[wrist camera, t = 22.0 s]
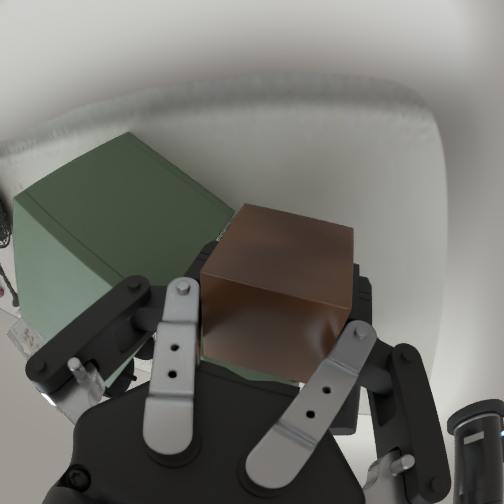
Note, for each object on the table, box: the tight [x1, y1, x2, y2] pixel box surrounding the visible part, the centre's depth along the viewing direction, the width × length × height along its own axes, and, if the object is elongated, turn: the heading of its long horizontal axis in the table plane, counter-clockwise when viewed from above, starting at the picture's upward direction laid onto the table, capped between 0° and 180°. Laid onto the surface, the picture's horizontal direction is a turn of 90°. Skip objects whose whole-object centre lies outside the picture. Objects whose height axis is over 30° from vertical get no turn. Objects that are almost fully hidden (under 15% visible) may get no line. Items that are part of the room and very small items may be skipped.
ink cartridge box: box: [7, 309, 48, 361], centre depth 44 cm, size 2×11×10 cm, turn 5°
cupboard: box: [13, 132, 235, 388], centre depth 23 cm, size 11×16×12 cm
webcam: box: [103, 337, 155, 398], centre depth 36 cm, size 8×8×10 cm
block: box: [200, 203, 354, 383], centre depth 13 cm, size 5×5×5 cm
